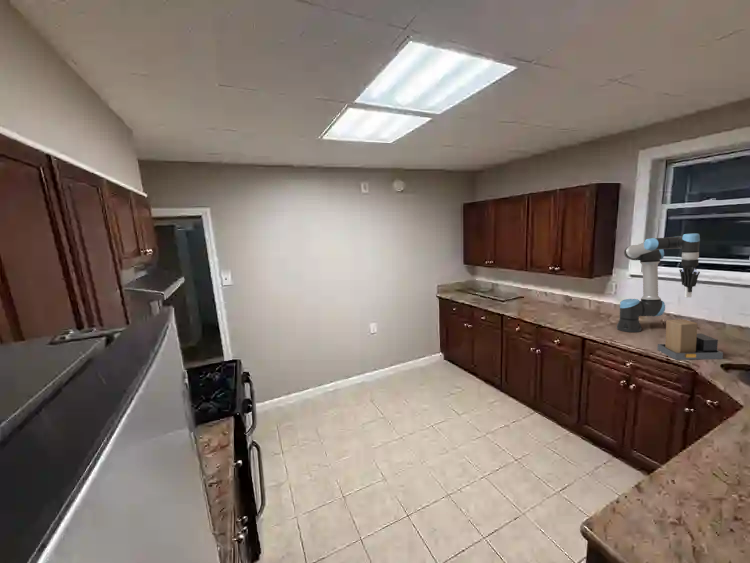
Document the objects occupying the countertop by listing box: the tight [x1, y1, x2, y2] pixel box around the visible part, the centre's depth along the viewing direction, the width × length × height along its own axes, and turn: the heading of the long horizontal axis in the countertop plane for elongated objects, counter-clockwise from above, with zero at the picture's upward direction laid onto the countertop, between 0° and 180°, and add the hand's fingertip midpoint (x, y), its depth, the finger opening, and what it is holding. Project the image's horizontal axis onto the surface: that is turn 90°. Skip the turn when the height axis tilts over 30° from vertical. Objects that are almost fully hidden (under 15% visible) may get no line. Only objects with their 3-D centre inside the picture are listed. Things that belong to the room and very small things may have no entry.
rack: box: [657, 333, 724, 361], centre depth 199 cm, size 17×24×11 cm
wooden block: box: [664, 318, 698, 353], centre depth 200 cm, size 10×10×20 cm
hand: (687, 297), depth 202 cm, fingers closed
